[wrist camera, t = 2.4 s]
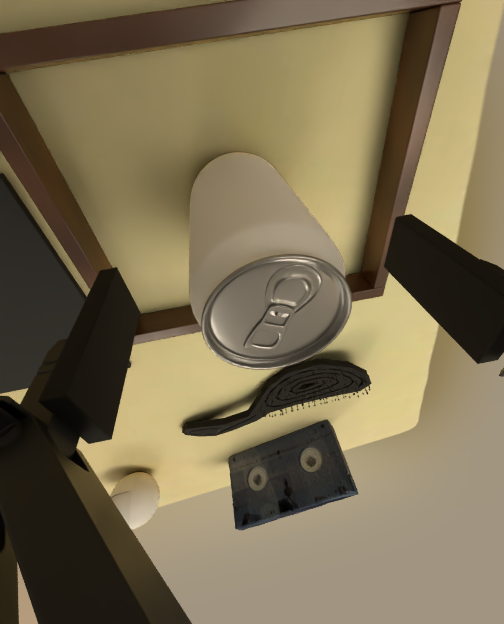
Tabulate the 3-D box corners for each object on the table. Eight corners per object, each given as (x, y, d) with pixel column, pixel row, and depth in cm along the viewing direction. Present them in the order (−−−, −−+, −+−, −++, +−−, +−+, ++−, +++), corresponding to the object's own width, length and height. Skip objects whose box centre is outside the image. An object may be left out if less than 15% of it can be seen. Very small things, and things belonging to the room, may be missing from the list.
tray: (-31, 46, 12) (-70, 43, 11) (433, -21, 13) (472, -34, 12) (131, 325, 25) (126, 346, 23) (369, 279, 26) (382, 295, 24)
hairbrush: (163, 438, 33) (369, 368, 28) (166, 410, 36) (355, 341, 31) (200, 458, 39) (378, 402, 33) (200, 431, 41) (365, 376, 36)
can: (300, 171, 18) (401, 270, 9) (262, 254, 22) (310, 382, 13) (204, 132, 16) (219, 214, 7) (180, 232, 20) (171, 368, 11)
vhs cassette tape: (234, 461, 49) (242, 531, 41) (226, 456, 47) (232, 529, 39) (332, 425, 45) (360, 494, 38) (328, 418, 43) (356, 490, 36)
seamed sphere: (142, 459, 42) (135, 517, 37) (170, 472, 47) (167, 525, 42) (88, 479, 44) (74, 537, 38) (120, 489, 49) (112, 542, 43)
